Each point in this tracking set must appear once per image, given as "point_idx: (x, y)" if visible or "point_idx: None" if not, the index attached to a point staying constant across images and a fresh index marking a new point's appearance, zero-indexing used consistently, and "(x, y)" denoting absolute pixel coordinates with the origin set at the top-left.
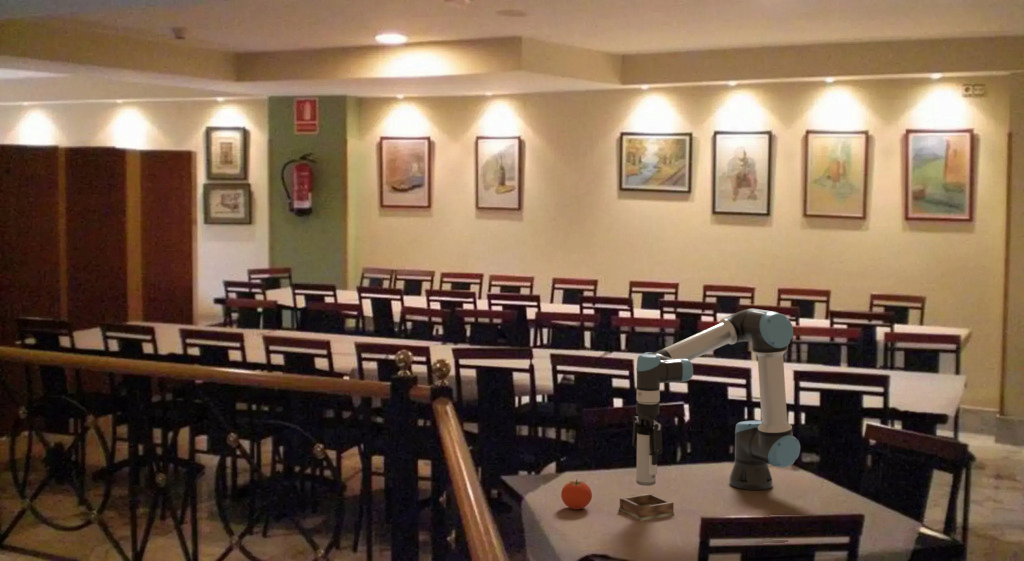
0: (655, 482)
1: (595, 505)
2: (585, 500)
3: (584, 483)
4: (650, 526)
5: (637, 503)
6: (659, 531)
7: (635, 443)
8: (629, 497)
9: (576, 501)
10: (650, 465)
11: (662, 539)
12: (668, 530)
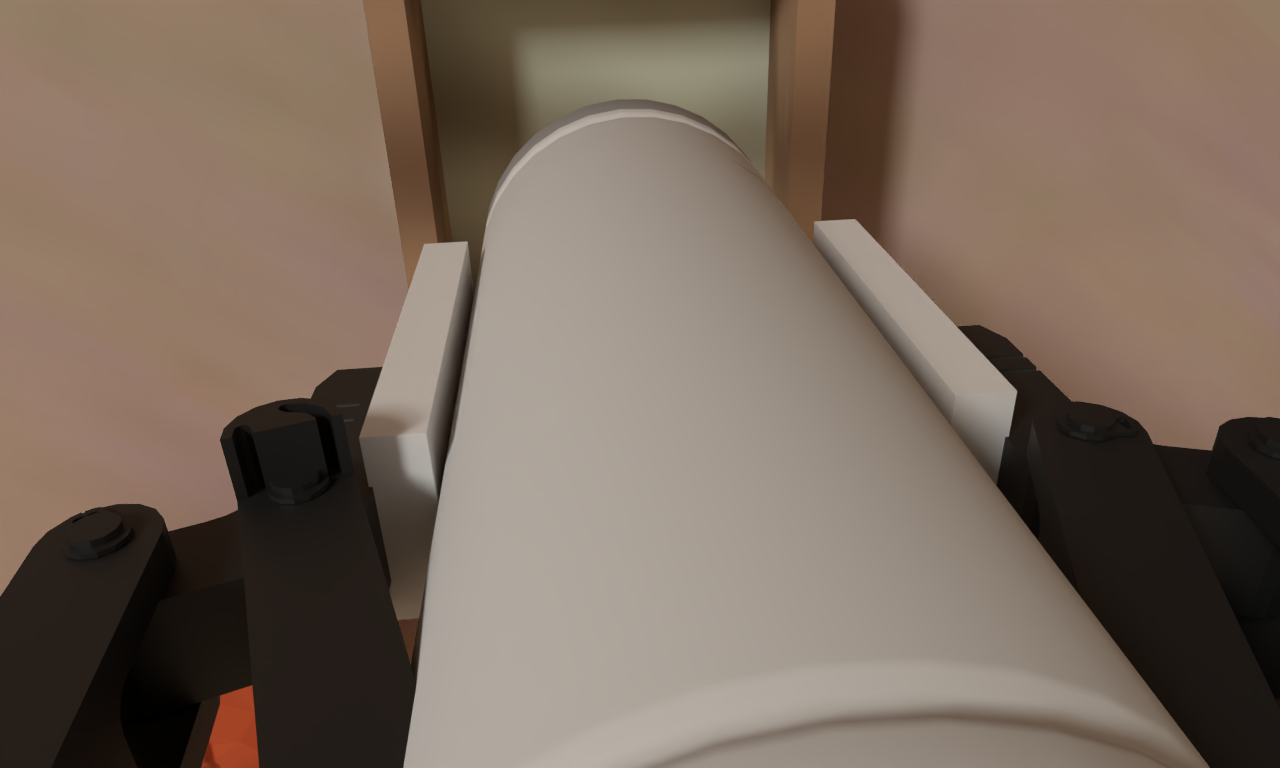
0: (732, 140)
1: (219, 447)
2: None
3: (218, 739)
4: (960, 311)
5: (437, 150)
6: (1100, 311)
7: (195, 702)
8: None
9: None
10: None
11: (1243, 386)
12: (1132, 229)
